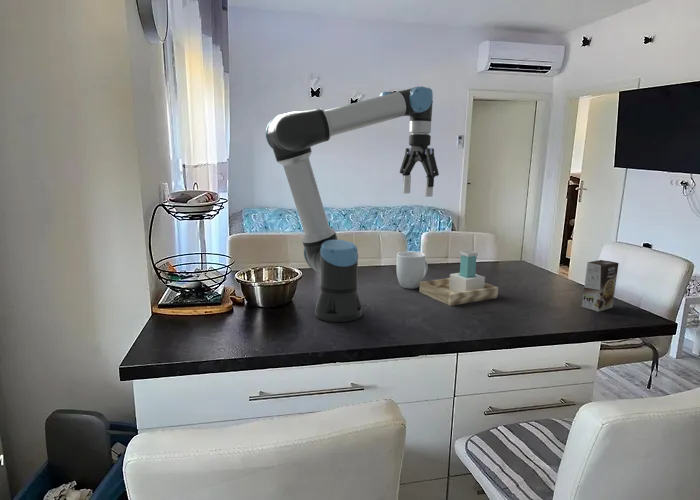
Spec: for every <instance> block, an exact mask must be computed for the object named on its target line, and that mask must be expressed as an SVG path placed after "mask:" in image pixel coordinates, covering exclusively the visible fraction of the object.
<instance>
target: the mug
mask: <svg viewBox="0 0 700 500" xmlns="http://www.w3.org/2000/svg"><path fill="white" fill-rule="evenodd" d="M395 267H396V277H397V282H399V285H400V287H402V288H403V289H411V290H414V289H417V288H420V282H422V281H423V279H424V278H425V276H426V275H427V273H428V269H429V267H428V262H427V260H426V254H425V253H423V252H419V251H399V252H397V254H396V266H395Z"/></svg>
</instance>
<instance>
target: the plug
mask: <svg viewBox="0 0 700 500" xmlns="http://www.w3.org/2000/svg"><path fill="white" fill-rule="evenodd" d="M459 255H460V265H459V273H460V276H462V277H465V278H471V277H475V274H476V269H477V256H479V253H478V252H477V251H472V250H460V252H459Z"/></svg>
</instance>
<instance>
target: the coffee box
mask: <svg viewBox="0 0 700 500" xmlns="http://www.w3.org/2000/svg"><path fill="white" fill-rule="evenodd" d="M619 265H620V263H619V262H616V261H611V260H610V261H609V260H602V259H600V260H599V259H598V260H595V261H588V262H587V265H586V273H585V280H584V289H583V294H582V303H581V308H585V309H589V310H592V311H595V312H597V313H598V312H599V313H600V312H602V311H605V310H609V309H612V308H613V306H614V299H615V293H616V285H617V279H618V270H619Z"/></svg>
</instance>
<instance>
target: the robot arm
mask: <svg viewBox="0 0 700 500" xmlns="http://www.w3.org/2000/svg"><path fill="white" fill-rule="evenodd" d="M433 97H434V96H433V90H432V88H431V87H425V86H415V87H410V88H408V89H403V90H399V91H390V90H389V91H382V92H381V93H380V94H379V95H378V96H376V97H372V98H369V99H365V100H360V101H356V102H353V103H349V104H345V105H342V106H338V107H337V106H336V107H334V108H329V109H325V110H324V109H323V108H321V107H319V108H316V109H315V108H314V109H310V110H302V111H301V110H300V111H290V112H287V113H280V114H278V115H275V116H274V117H272V119H271V120H270V121H269V122H268V123H267V126H266V129H265V138H266V141H267V143H268V146H270V149H273V150H272V151H273V154H274V157H275V159H276V162H277V163H279V164H280V165H281V166H283V169H284V172H285V176H286V179H287V182H288V185H289V188H290V192H291V195H292V197H293V201H294V205H295V207H296V211H297V213H298V216H299V221H300V223H301V226H302V230H303V233H304V235H303V237H302V240H301V242H302V244H303V248H304V249H303V256H304V260H305V262H306V264H307V265H308V266H309V267H310V268H311V269H313V271H315V272H317V273H318V274H320V293H319V295H318V298H317V300H316V303H315V307H314V315H315V317H316V318H318V319H320V320H321V321H324V322H329V323H330V322H331V323H332V322H333V323H345V322H353V321H356V320H358V319H360V318H361V317H362V315H363V307H362V304H361V301H360V297H359V293H358V269H359V268H358V267H359V266H358V265H359V264H358V263H359V254H358V250H359V249H358V247H357V245H356V244H355V243H353V242H351V241H349V240H344V239H338V236H337V233H336V230H335V229H334V228H332V227H330V224H329V222H328V218H327V214H326V212H325V208H324V205H323V201H322V198H321V194H320V191H319V188H318V185H317V180H316V178H315V174H314V171H313V167H312V164H311V162H310V161H311V160H310V156H311V155H312V152H313V151H312V147H314V146H317V145H319V144H322V143H326V142H328V141H330V139H331V138H332V137H333V136H337V135H341V134H344V133H347V132H352V131H355V130H359V129H362V128H365V127H369V126H372V125H377V124H380V123H383V122H387V121H390V120H394V119H398V118H401V117H405V116H406V117H409V127H408V128H409V131H408V132H409V136H408V138H409V139H408V145H409V146H411V147H409V148H407V147H406V148H405V152H404V156H403V159H402V163H401V166H400V169H399V174H401V175H402V178H403V179H402V185H403V187H402V194H411V180H412V178H411V177H412V176H411V172H412V171H413V169H414V167H415V165H416V163H417V162H420V163H421V165H422V167H423V168H424V172H425V174H426V177H425V186H424V188H425V190H424V197H426V198H428V197H433V196H434V193H433V192H434V186H435V177H438V176H439V175H440V173H439V170H438V166H437V161H436V157H435V149H434V148H433V147H431V148H430V147H429V146H431V138H432V136H431V135H430V134H431V132H432V115H433V103H434V101H433Z"/></svg>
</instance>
